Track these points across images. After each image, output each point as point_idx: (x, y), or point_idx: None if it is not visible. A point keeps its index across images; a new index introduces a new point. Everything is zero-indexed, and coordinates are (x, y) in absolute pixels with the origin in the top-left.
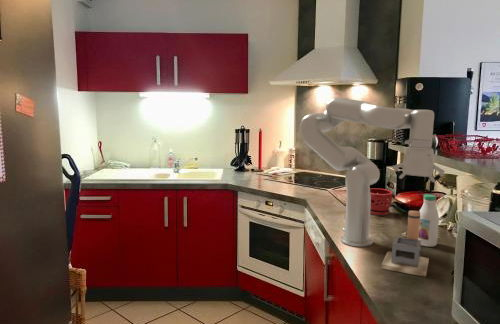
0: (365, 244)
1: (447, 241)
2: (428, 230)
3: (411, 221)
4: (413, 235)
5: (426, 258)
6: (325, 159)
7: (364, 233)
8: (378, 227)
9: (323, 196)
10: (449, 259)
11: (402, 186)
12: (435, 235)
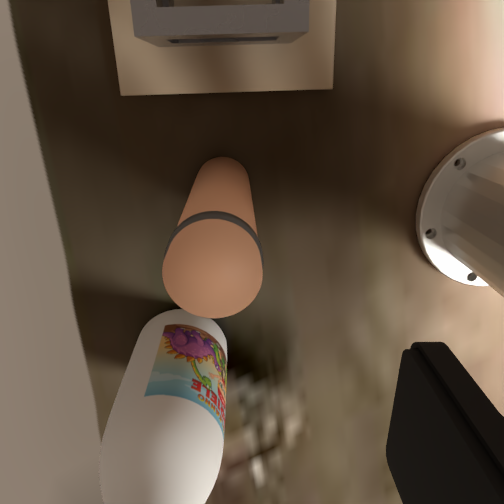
0: (452, 155)
1: None
2: (159, 354)
3: (227, 206)
4: (210, 180)
5: (130, 81)
6: None
7: (491, 187)
8: None
9: None
10: (50, 190)
11: (441, 379)
12: (131, 356)
